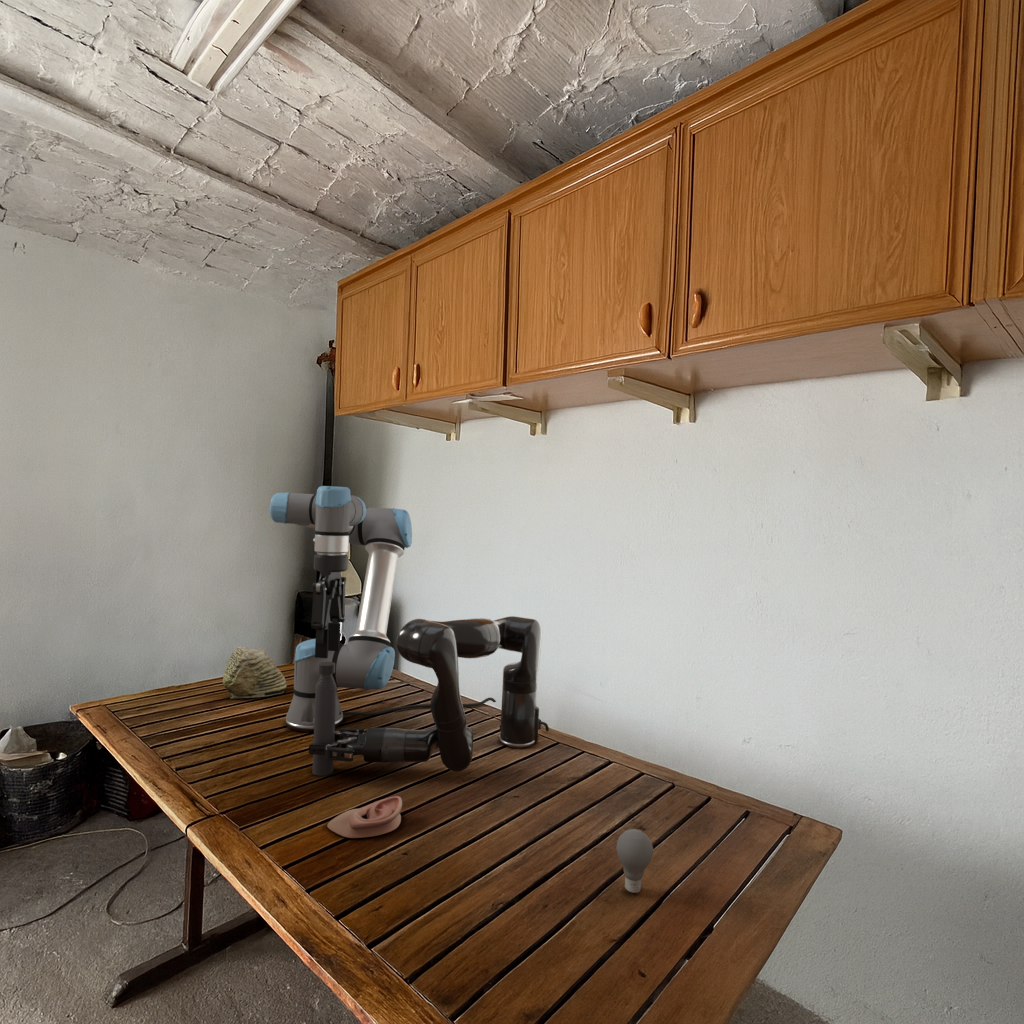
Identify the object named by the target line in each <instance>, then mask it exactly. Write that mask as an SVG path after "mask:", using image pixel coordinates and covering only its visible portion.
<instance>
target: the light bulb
mask: <svg viewBox="0 0 1024 1024" xmlns="http://www.w3.org/2000/svg"><path fill="white" fill-rule="evenodd" d="M615 849H616V854H617V857H618V859H619V861H620V863H621V865H622V867H623V873H624V874H623V875H624V876H625V878H624V888H625V890H627V891H628V892H630V893H634V894H635V893H639V892H640V891H641V889H642V887H641V886H642V879H643V877H644V875H645V871H646V868H647V867H648V866H649V864H650V863H651V861H652V859H653V855H654V847H653V843H652V841H651V838H649V836H648V835H647V834H646V833H645V832H643V831H642V830H641V829H636V828H629V829H627V830H625V831H623V832H622V833H621V834H620V835H619V837H618V839H617V841H616V847H615Z"/></svg>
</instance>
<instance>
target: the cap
mask: <svg viewBox="0 0 1024 1024" xmlns="http://www.w3.org/2000/svg"><path fill="white" fill-rule="evenodd" d="M318 673H319V674H324V675H328V674H333V673H335V663H334V662H321V663H319V669H318Z"/></svg>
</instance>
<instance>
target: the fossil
mask: <svg viewBox="0 0 1024 1024" xmlns="http://www.w3.org/2000/svg"><path fill="white" fill-rule="evenodd" d="M222 676H223V677H222V685H223V687H224V688H225V690H226V691H228V693H229V698H230V699H250V698H264V697H271V696H275V695H281V694H284V693H285V691H286V689H287V687H288V686H287V680H286V678H285V676H284V674H283V673H282V672H281V669H279V668H278V667H277V665H276V663H275V662H274V660H273V659H272V658H271V657H270V656H269V655H268V654H267V653H266V652H265V650H264V649H263V648H260V647H258V648H251V647H247V646H246V647H245V646H238V647H237V648H236V649H235V650H233V651H232V653H231V656H230V657H229V659H228V660H227V663H226V666H225V668H224V671H223V675H222Z"/></svg>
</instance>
